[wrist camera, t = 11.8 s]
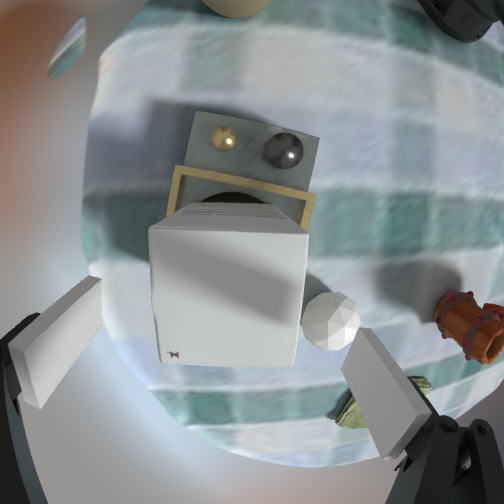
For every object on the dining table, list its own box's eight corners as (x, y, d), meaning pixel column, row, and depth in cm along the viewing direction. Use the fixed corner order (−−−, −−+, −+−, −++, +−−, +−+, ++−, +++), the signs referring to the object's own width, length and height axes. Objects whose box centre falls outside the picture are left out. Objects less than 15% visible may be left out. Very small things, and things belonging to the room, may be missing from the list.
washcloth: (361, 369, 44) (368, 381, 41) (429, 375, 46) (437, 384, 43) (330, 420, 47) (334, 432, 44) (398, 421, 49) (403, 430, 46)
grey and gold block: (197, 113, 32) (187, 97, 25) (314, 138, 34) (334, 130, 26) (167, 278, 38) (151, 304, 30) (274, 299, 39) (283, 329, 31)
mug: (422, 333, 42) (471, 382, 28) (430, 290, 40) (488, 333, 26) (477, 316, 43) (525, 352, 28) (485, 277, 41) (540, 308, 26)
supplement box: (271, 286, 32) (296, 372, 18) (189, 283, 31) (156, 367, 17) (277, 202, 30) (314, 232, 15) (189, 199, 29) (144, 225, 15)
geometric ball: (330, 292, 42) (377, 304, 36) (312, 343, 41) (357, 361, 35) (301, 278, 38) (354, 291, 31) (280, 337, 36) (330, 358, 30)
